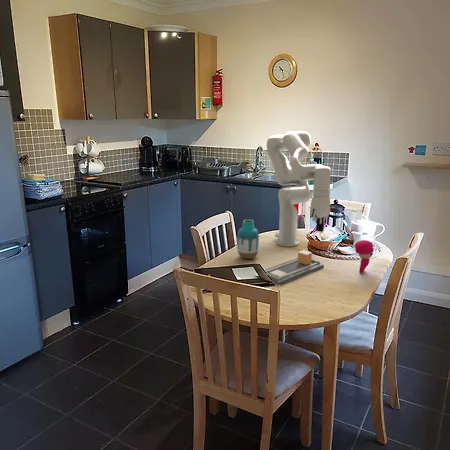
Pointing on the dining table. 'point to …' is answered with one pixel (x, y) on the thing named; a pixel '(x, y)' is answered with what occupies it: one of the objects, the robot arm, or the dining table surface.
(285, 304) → the dining table surface
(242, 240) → the vase
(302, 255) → the orange cube
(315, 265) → the grey rectangular tray
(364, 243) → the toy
